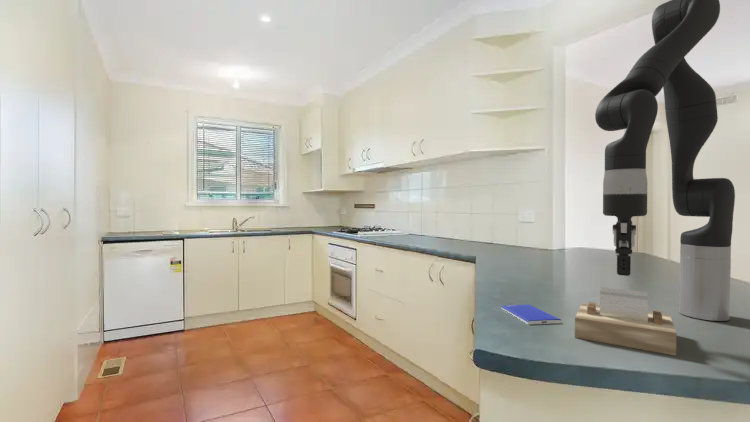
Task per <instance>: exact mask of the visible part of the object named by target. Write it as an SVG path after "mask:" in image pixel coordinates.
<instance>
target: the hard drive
mask: <svg viewBox="0 0 750 422" xmlns="http://www.w3.org/2000/svg"><path fill="white" fill-rule="evenodd" d="M500 309H503V310H505V311H507V312H508V313H510V314H512V315H513V316H512V315H511V316H512V317H514V316H515V317H517V318H518V320H519V319H520V320H519V321H520V322H522V321H523V323H524V322H525V323H524V324H526V325H545V324H547V325H548V324H550V325H551V324H562V319H560V318H558V317H556V316H554V315H552V314H551V313H548V312H546V311H545V310H542V309H539V308H538V307H536V306H533V304H532V305H531V304H508V305H507V304H506V305H501V308H500ZM503 310H502V311H503ZM505 311H504V312H505ZM507 312H506V313H507ZM508 313H507V314H508ZM510 314H509V315H510ZM515 317H514V318H515ZM517 318H516V319H517Z"/></svg>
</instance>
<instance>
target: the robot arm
mask: <svg viewBox="0 0 750 422" xmlns="http://www.w3.org/2000/svg"><path fill="white" fill-rule="evenodd" d="M720 12H721V4H720V0H669V1H666V2H663V3H662V4H660V5H658V6H657V7H656V8H655V9H654V11H653V13H652V16H651V17H652V18H651V29H652V30H651V31H652V37H653V41H654V45H653V46H651V47H650V48H649V49H647V51H646V52H645V53H643V54H642V55H641V56H640V57H639V58H638V60H637V61H636V62H635V64H634V65H633V66H632V67H631V69H630V71H629V73H628V74H627V75H626V77H625V78H623V80H622V81H620V82H619V83H618V84H617V85H615V86H614V87H613V88H612V89H611V90H610V91H609V92H608V93H606V95H605V96H604V97H603V98H602V99H601V100H600V101H599V103H598V104H597V108H596V109H595V114H594V116H595V123H596V124H597V126H598V127H599V128H600V129H601V130H603V131H605V132H615V131H621V130H625V132H624V134H623V136H622V137H620V138H619V139H616V140H614V141H612V142H610V143H608V144H607V145H606V146H605V149H604V174H603V181H602V186H603V187H602V214H603V215H604V216H606V217H607V216H608V217H616V220H617V221H616V224H613V225H612V234H613V246H615V248H614V251H615V254H616V274H617V275H618V276H623V277H624V276H626V277H630V276H631V257H632V256H633V248H634V247H635V236H636V234H637V225H636V224H633V221H632V218H633V217H646V215H647V214H648V177H647V176H648V175H647V147H648V143H649V141H650V137H651V133H652V131H653V127H654V124H655V121H656V120H657V117H658V116H657V115H658V110H659V109H658V108H659V106H658V105H659V104H658V100H657V98H656V96H658V94H660V92H661V91H662V89H663V96H664V109H665V118H666V126H667V133H668V139H669V147H670V148H669V149H670V155H671V156H670V157H671V190H672V191H671V193H672V195H671V196H672V202H673V207H674V210H675V212H676V213H677V214H678V215H679V216H683V217H702V218H703V217H704V218H705V217H706V218H707V217H708V218H709V219H708V222H707V223H706V224H705V225H703V226H701V227H698V228H694V229H691V230H686V231H683V232H682V233H681V234H680V247H679V248H680V250H679V251H680V252H679V254H680V256H679V258H680V260H679V264H680V265H679V296H678V297H679V299H678V300H679V302H678V303H679V304H678V307H679V309H678V311H679V314H681V315H683V316H686V317H689V318H690V317H691V318H694V319H698V320H705V321H714V322H715V321H716V322H725V321H730V317H731V316H730V313H731V311H730V307H731V274H732V272H731V269H732V267H731V265H732V264H731V263H732V262H731V261H732V258H731V257H732V236H733V224H734V223H733V221H734V210H735V201H736V200H735V199H736V192H735V191H736V190H735V185H734V184H733V182H732V181H731V180H730V179H729V178H727V177H726V178H725V177H711V178H707V177H706V178H694V165H695V162H696V159H697V157H698V155H699V153H700V151H701V149H702V148H703V147H704V145H705V144H706V142H707V141H708V139H709V138H710V137H711V135H712V133H713V132H714V129H716V126H717V124H718V119H719V118H718V117H719V116H718V107H717V105H718V104H717V95H716V93H715V92H716V91H715V90H714V89H713V87H712V86H711V85H710V83H709V82H708V81H707V80H705V78H703V77H702V76H701V75H700V74H699V73H698V72H697V71H696V70H695V69H693V68H692V66H691V65H690V64H689V63H688V62H687V60H686V56H687V55H688V54H689V52H691V51H692V50H693V48H694V47H695V46H697V45H698V44H699V42H701V41H702V39H703V38H704V37H705V36H706V35H707V34H708V33H709V32H710V31H711V30H712V29H713V27H715V25H716V23H717V22H718V20H719V17H720V14H721V13H720Z"/></svg>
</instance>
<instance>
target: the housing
mask: <svg viewBox="0 0 750 422" xmlns="http://www.w3.org/2000/svg"><path fill="white" fill-rule="evenodd" d="M599 305H600V316H607V317H614V318H621V319H628V320H634V321H641V322H648V312H649V292H647V291H639V290H638V291H636V290H630V289H629V290H628V289H620V288H613V287H611V288H610V287H603V286H602V287H601V288H600V291H599Z"/></svg>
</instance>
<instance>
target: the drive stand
mask: <svg viewBox="0 0 750 422" xmlns="http://www.w3.org/2000/svg"><path fill="white" fill-rule="evenodd" d="M677 334H678V333H677V331H676V328H675V325H674V323H673V320H672V317H671V314H668V313H662V312H661V310H656V309H652V312H651V311H648V322H641V321H634V320H628V319H621V318H614V317H607V316H600V304H597V302H595V301H589V302H588V303H585V302H582V303H581V304H580V306H579V309H578V310H577V313H576V315H575V317H574V338H575V339H582V340H587V341H592V342H597V343H598V342H599V343H602V344H603V343H604V344H610V345H614V346H620V347H621V346H622V347H626V348H632V349H636V350H637V349H638V350H642V351H643V350H644V351H648V352H654V353H659V354H665V355H671V356H677Z"/></svg>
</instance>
